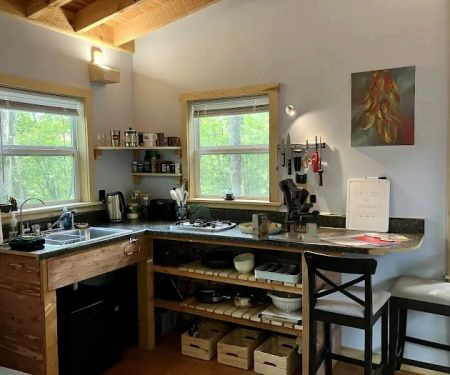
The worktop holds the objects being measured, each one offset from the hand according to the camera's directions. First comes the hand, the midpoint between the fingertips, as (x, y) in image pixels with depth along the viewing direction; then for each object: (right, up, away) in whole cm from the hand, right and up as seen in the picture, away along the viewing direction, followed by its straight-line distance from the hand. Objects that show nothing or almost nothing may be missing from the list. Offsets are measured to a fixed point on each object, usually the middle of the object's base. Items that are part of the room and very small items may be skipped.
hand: (308, 225), depth 265 cm
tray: (+1, -9, -4) cm, 10 cm away
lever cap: (+1, -9, -4) cm, 10 cm away
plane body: (-10, -9, 0) cm, 13 cm away
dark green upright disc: (-73, -6, +63) cm, 96 cm away
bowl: (-28, -8, +31) cm, 42 cm away
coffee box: (-30, -9, +2) cm, 31 cm away
